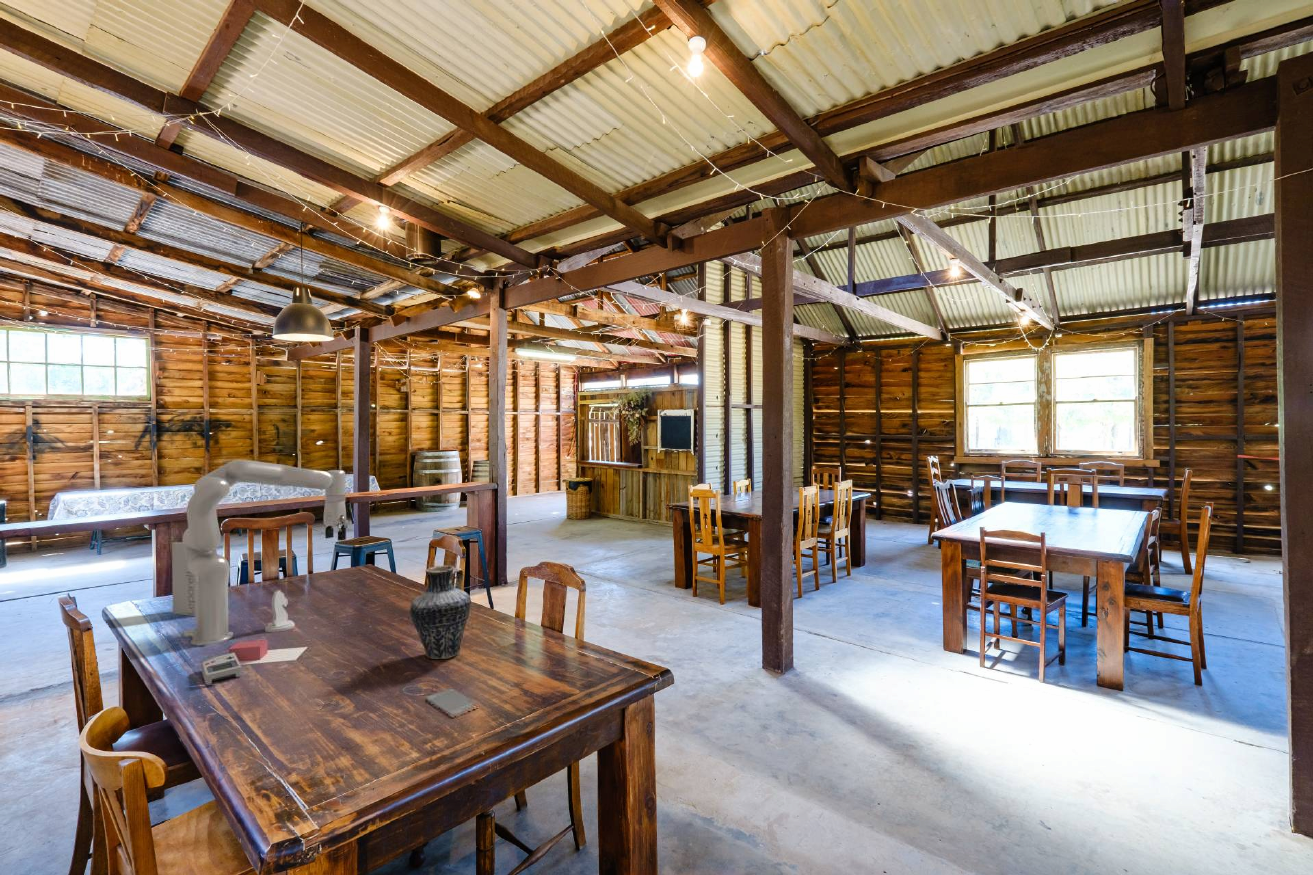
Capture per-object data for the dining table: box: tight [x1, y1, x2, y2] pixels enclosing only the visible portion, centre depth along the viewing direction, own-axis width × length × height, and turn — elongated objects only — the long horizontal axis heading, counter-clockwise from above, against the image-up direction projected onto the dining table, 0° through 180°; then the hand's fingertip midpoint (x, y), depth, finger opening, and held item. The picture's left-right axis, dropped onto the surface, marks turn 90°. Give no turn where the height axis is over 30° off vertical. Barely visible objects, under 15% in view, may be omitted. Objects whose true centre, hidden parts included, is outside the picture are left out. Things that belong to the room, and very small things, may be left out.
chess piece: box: [264, 589, 296, 633], centre depth 227 cm, size 10×10×15 cm
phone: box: [425, 688, 475, 715], centre depth 163 cm, size 8×16×1 cm, turn 47°
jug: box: [409, 564, 472, 660], centre depth 199 cm, size 21×19×30 cm
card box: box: [228, 639, 268, 662], centre depth 196 cm, size 9×6×4 cm, turn 104°
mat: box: [239, 646, 308, 666], centre depth 197 cm, size 22×12×1 cm, turn 104°
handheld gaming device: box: [200, 653, 243, 685], centre depth 183 cm, size 9×15×4 cm, turn 43°
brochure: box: [171, 541, 197, 617], centre depth 247 cm, size 14×6×30 cm, turn 73°
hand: (335, 538), depth 249 cm, fingers open, 9 cm apart
